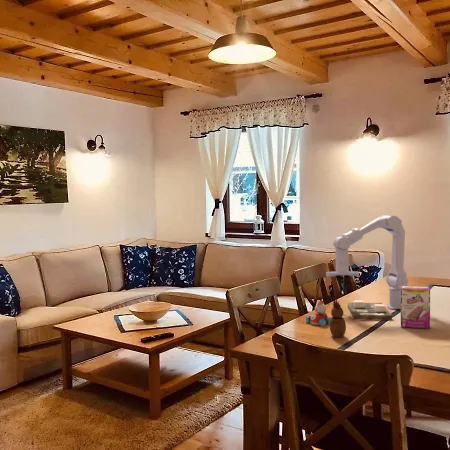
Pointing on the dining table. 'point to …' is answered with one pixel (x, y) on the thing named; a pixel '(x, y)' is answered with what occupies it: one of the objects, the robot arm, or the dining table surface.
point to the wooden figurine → (337, 320)
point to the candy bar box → (415, 307)
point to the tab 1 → (358, 304)
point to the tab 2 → (379, 307)
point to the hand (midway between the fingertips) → (342, 291)
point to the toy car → (319, 315)
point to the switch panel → (368, 312)
